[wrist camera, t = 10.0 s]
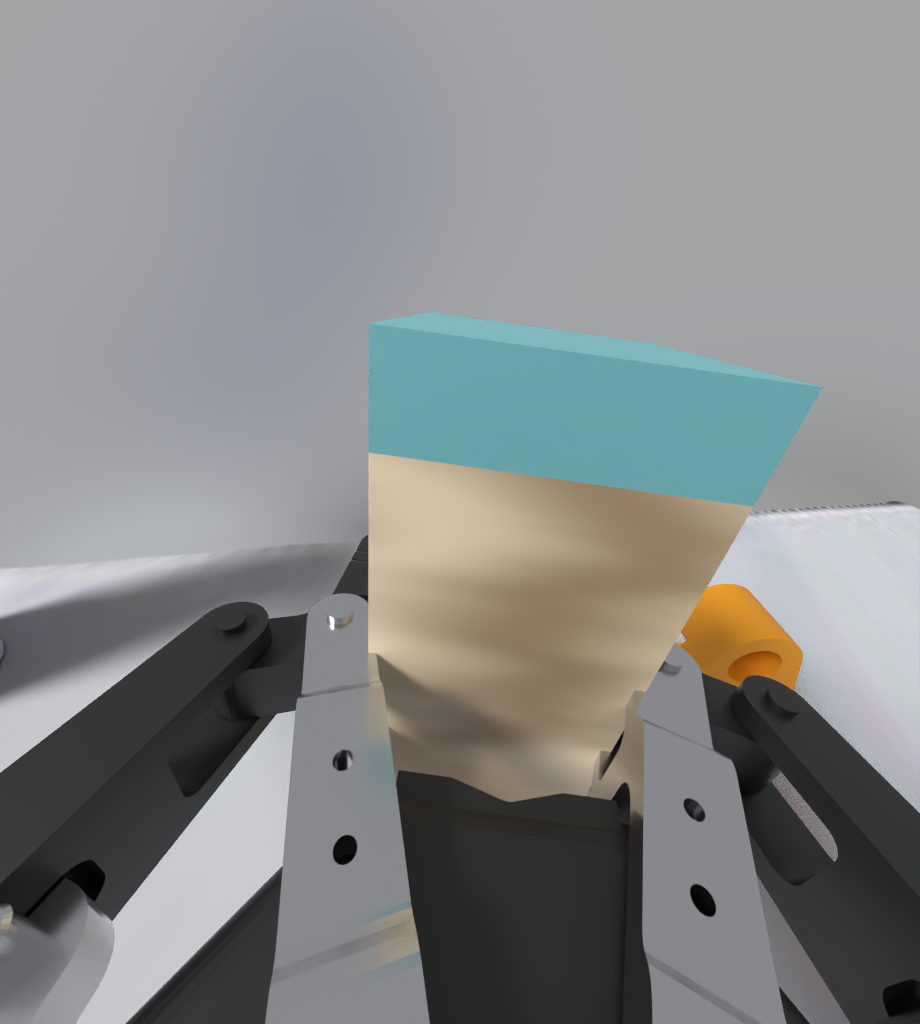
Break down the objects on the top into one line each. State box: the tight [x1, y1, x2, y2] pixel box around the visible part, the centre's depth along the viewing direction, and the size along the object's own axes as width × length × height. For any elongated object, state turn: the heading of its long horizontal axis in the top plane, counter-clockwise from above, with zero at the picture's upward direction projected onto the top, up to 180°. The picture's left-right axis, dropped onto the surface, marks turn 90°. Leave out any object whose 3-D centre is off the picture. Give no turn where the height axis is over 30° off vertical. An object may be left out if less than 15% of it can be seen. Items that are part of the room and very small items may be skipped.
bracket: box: [675, 584, 803, 690], centre depth 28 cm, size 11×7×12 cm, turn 88°
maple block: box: [368, 312, 822, 802], centre depth 10 cm, size 5×5×14 cm
